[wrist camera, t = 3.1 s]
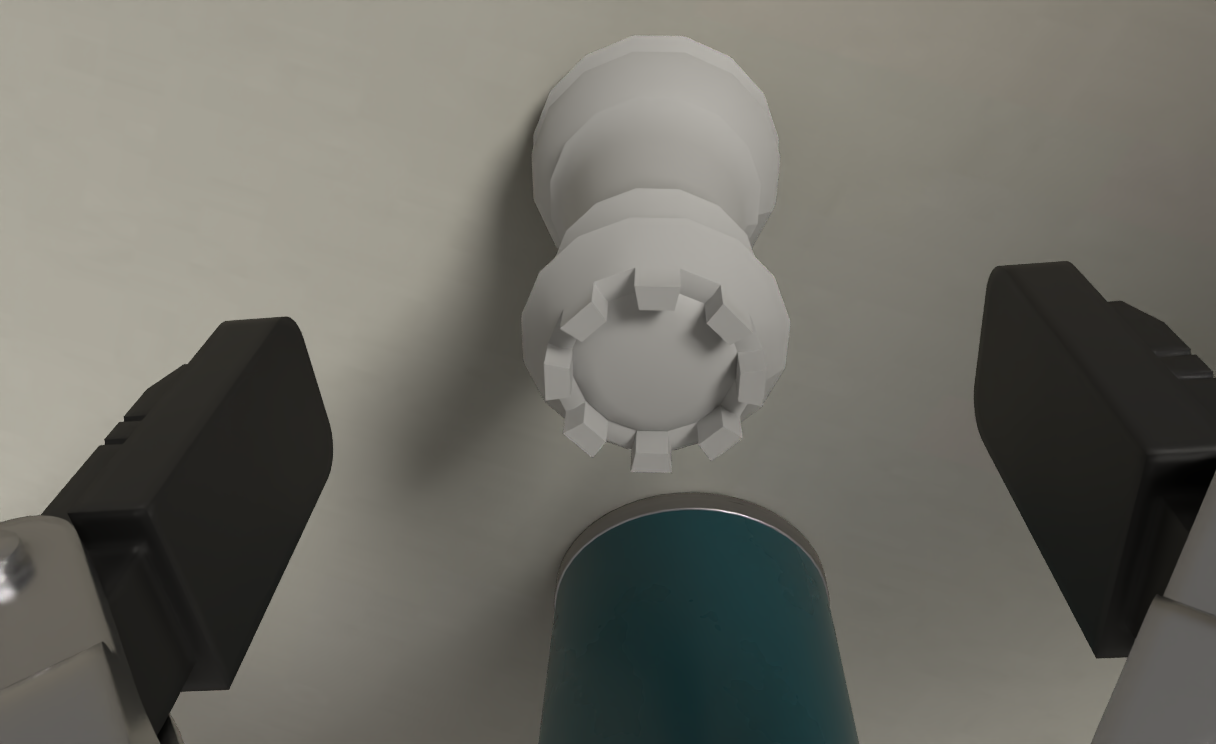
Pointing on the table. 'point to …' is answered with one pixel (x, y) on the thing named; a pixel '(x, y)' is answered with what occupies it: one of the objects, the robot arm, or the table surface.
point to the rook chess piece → (655, 251)
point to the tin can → (694, 631)
